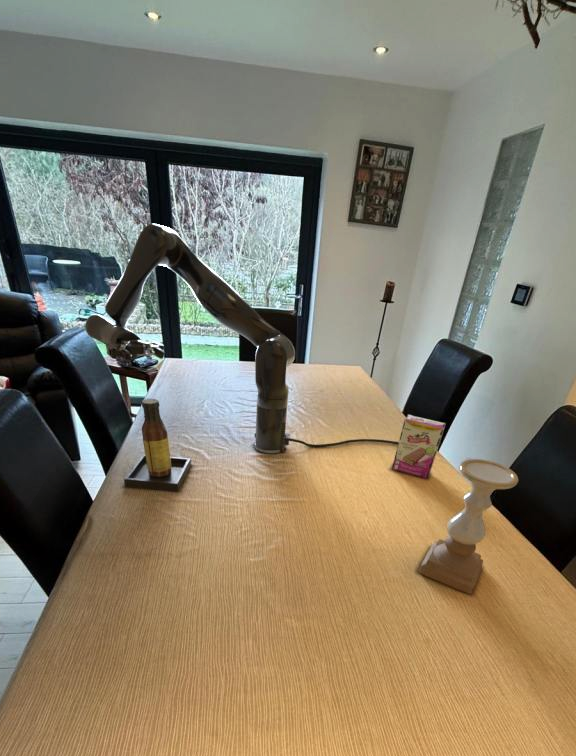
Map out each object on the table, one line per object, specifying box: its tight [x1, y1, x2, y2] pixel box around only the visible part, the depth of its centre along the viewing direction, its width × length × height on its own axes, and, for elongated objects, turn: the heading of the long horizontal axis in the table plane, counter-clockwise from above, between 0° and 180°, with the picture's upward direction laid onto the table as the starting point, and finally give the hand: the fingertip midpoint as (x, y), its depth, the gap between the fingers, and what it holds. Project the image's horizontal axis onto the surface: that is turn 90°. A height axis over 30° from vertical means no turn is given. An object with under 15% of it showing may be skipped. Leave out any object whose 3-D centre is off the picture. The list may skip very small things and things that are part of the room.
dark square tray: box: [123, 453, 192, 492], centre depth 112 cm, size 14×15×2 cm
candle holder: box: [418, 458, 519, 595], centre depth 82 cm, size 11×11×24 cm
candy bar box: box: [391, 414, 447, 480], centre depth 122 cm, size 11×5×16 cm, turn 65°
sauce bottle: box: [141, 398, 171, 477], centre depth 107 cm, size 7×6×20 cm
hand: (146, 356), depth 107 cm, fingers open, 8 cm apart
